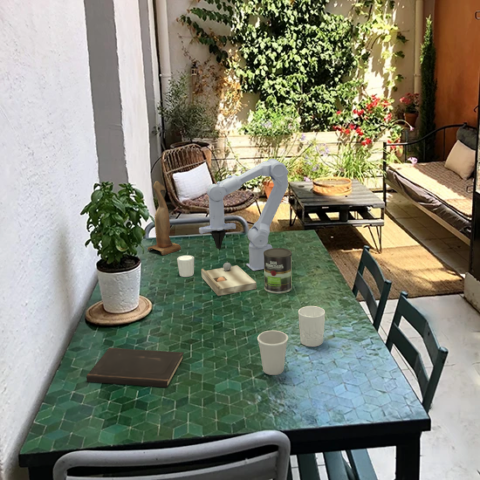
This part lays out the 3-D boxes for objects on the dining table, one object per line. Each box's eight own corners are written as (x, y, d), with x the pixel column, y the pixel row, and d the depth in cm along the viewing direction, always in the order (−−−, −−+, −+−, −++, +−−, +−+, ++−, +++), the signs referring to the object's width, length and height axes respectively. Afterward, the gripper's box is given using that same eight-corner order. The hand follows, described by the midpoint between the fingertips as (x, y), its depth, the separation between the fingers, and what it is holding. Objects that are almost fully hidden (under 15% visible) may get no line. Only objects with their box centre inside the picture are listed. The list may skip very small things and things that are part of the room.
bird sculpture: (182, 250, 263) (178, 179, 254) (162, 256, 255) (158, 184, 246) (165, 245, 270) (161, 177, 261) (146, 251, 262) (141, 181, 253)
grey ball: (229, 268, 230) (229, 260, 229) (232, 271, 228) (232, 263, 227) (222, 269, 229) (221, 262, 228) (224, 272, 227) (224, 264, 226)
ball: (214, 282, 221) (221, 285, 223) (217, 284, 218) (224, 287, 220) (218, 274, 221) (225, 277, 222) (220, 277, 218) (227, 280, 219)
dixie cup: (279, 380, 156) (279, 347, 153) (252, 372, 160) (251, 340, 157) (293, 366, 163) (293, 334, 160) (267, 359, 167) (266, 327, 164)
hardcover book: (109, 354, 174) (109, 347, 174) (184, 359, 170) (183, 352, 169) (86, 383, 159) (85, 376, 159) (167, 389, 155) (167, 381, 154)
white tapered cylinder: (194, 277, 230) (193, 260, 228) (177, 277, 230) (175, 261, 228) (195, 270, 236) (194, 254, 234) (179, 271, 237) (177, 255, 234)
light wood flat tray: (237, 271, 234) (237, 263, 233) (256, 288, 216) (256, 279, 215) (201, 277, 229) (201, 269, 228) (218, 295, 211) (217, 286, 210)
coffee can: (287, 295, 210) (286, 258, 205) (260, 291, 213) (259, 255, 209) (295, 284, 219) (295, 249, 214) (269, 281, 222) (268, 246, 218)
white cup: (327, 337, 178) (327, 307, 175) (322, 349, 171) (322, 318, 168) (301, 334, 181) (301, 304, 178) (295, 346, 174) (295, 315, 171)
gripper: (202, 220, 221) (204, 253, 226) (237, 215, 226) (239, 248, 230) (196, 215, 228) (198, 248, 232) (231, 210, 233) (233, 243, 237)
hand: (218, 248), depth 232 cm, fingers closed
